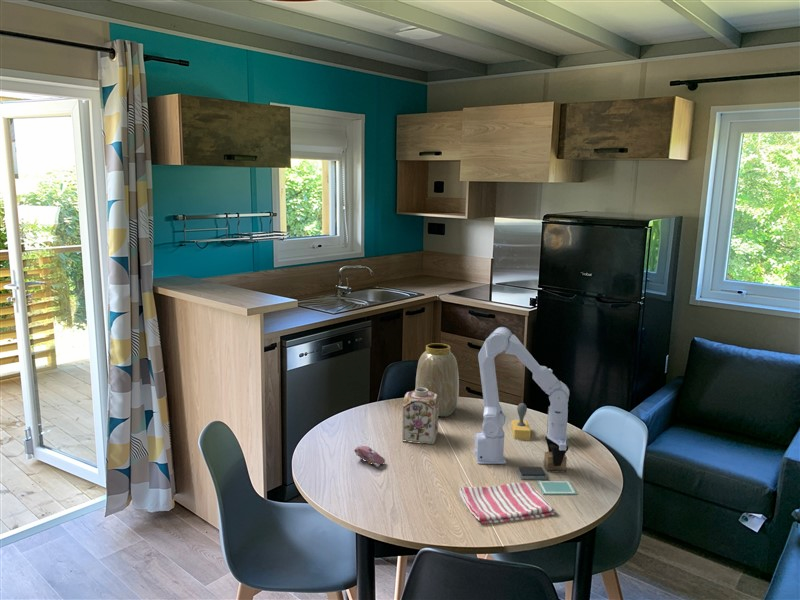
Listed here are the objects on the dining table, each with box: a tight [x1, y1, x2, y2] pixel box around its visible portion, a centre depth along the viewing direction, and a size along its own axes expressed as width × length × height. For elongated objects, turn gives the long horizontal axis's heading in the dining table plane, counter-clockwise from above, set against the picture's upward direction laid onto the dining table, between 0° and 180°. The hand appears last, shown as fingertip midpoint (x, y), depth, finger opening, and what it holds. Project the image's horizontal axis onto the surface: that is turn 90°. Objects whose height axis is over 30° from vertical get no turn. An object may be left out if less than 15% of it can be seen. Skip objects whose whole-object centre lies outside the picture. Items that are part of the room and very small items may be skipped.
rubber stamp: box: [510, 402, 532, 441], centre depth 224 cm, size 10×6×12 cm, turn 176°
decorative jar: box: [401, 387, 439, 445], centre depth 219 cm, size 12×12×18 cm
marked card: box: [536, 480, 578, 496], centre depth 184 cm, size 10×8×1 cm
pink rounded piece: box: [353, 444, 386, 465], centre depth 199 cm, size 10×5×7 cm, turn 47°
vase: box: [415, 342, 460, 417], centre depth 244 cm, size 17×17×27 cm
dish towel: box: [459, 481, 557, 525], centre depth 174 cm, size 17×23×4 cm
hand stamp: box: [543, 451, 568, 473], centre depth 197 cm, size 6×4×7 cm, turn 91°
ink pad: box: [516, 466, 548, 481], centre depth 192 cm, size 8×6×2 cm
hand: (555, 462), depth 197 cm, fingers open, 4 cm apart
